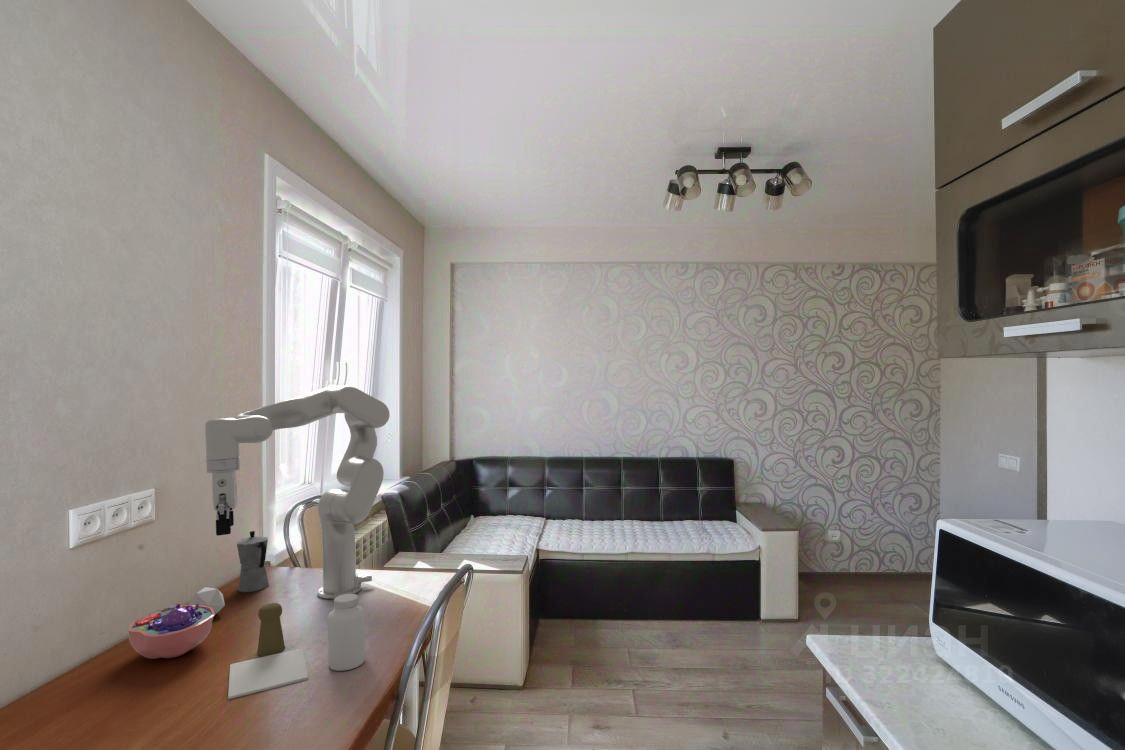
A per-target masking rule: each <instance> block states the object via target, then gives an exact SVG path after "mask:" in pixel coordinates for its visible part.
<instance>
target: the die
mask: <svg viewBox="0 0 1125 750" xmlns="http://www.w3.org/2000/svg"><path fill="white" fill-rule="evenodd" d="M196 604H199V605H202V606H207V607H210V608H212V609H213V611H214V613H215V615H216V614H218V613H219V612H220V611H221V610H222V609H223V608H224V607H225V606H226V604H225V599H224V593H222V592H221V591H220V590H219V589H218V588H214V587H207V586H204V588H202V589H201V590H199V591H198V592H196V593H195V594H194V595H193V596H192V597H191V598H190V600H189V601H188V605H196Z"/></svg>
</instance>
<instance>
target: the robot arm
mask: <svg viewBox="0 0 1125 750" xmlns="http://www.w3.org/2000/svg"><path fill="white" fill-rule="evenodd" d="M335 414H336V415H337V414H344V420H345V422H346V425H347V426H348V429H349V433H350V440H349V443H348V445H347V448H346V449H345V450H346V451H345V453H344V455H343V457H342V459H341V462H340V463H339V466H338V469H337V470H336V479H337V482H339V484H341V485H342V486H345V487H349V489H342V488H333V489H329V490H326V491H325V492H324V493H323V494H322V495H321V496H320V498H319V501H318V504H317V510H318V511H317V512H318V513H317V514H318V519H319V522H320V526H321V527H320V530H321V548H322V553H321V554H322V586H321V587H319V589H317V596H318V597H319V598H321V599H329V600H334V599H335V598H336V597H338V596H340V595H344V594H357V593H359V592H360V591H361V590H362V583H369V582H372V580H373V576H372V574H366V573H365V574H361V575H359V574H357V572H356V571H357V569H356V530H355V526H354V524H355V525H356V524H360V523H362V522H363V521H364V520H366V518H367V517H368V516H369V515H370V512H371V511H372V508H373V505H374V503H375V501H376V498H377V495H378V493H379V491H380V489H381V486H382V483H383V480H384V467H383V465H382V464H381V461H379V460H378V459H376V458H374V456H375V453H376V450H377V446H378V437H377V433H376V430H375V429H378V428H382V427H384V426H385V425H386V424H387V423H388V421H389V420H390V416H391V415H390V409H389V408H388V406H387V404H385V403H384V402H383V401H381V400H379V399H378V398H376V397H374V396H372V395H371V394H368V393H367V392H365V391H362V390H361V389H359V388H358V387H355V386H351V385H331V386H327V387H324V388H321V389H317V390H314V391H311V392H309V393H306V394H303V395H299V396H296V397H293V398H290V399H286V400H283V401H279V402H276V403H273V404H269V405H266V406H265V405H264V406H262V407H258V408H255V409H252V410H249V411H245V412H243V413H240V414H237V415H236V416H233V417H220V418H210V419H208V420H207V421H206V422H205V427H204V428H205V433H204V434H205V454H206V455H205V458H206V462H205V463H206V466H205V467H206V474H207V473H208V474H211V487H212V488H211V489H212V490H211V491H212V502H213V504H212V506H213V510H214V511H215V512H216V519H215V535H216V536H226V535H230V534H231V533H232V532H231V530H232V528H231V527H233V526H234V524H235V522H234V520H235V519H234V510H235V509H236V508H237V506H238V503H239V501H238V489H237V485H238V483H237V474H236V473H237V472H236V471H239V470H240V468H241V467H240V466H241V465H240V463H241V462H240V461H241V460H240V444H259V443H263V442H265V441H267V440H268V439H270V438H271V436H272V435H273V431H275V430H281V429H291V428H292V429H293V428H297V427H298V428H299V427H304V426H306V425H308V424H311V423H314V422H316V421H320V420H321V419H324V418H327V417H329V416H332V415H335Z"/></svg>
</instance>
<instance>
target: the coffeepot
mask: <svg viewBox="0 0 1125 750" xmlns="http://www.w3.org/2000/svg"><path fill="white" fill-rule="evenodd" d="M255 533H256V531H255V530H251V531H249V536H248V537H245V538H244V537H243V538H241V540H237V541H236V548H237V552H238V557H239V564H240V573H239V581H238V586H237V587H238V588H237V591H238V592H240V593H254V592H257V591H262V590H263V589H266V588H268V587H269V585H270V583H269V580H268V579H269V578H268V574H267V568H266V565H265V562H266V556H267V551H268V550H267V549H268V542H269V538H268V537H267V536H256V534H255Z"/></svg>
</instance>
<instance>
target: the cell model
mask: <svg viewBox="0 0 1125 750" xmlns="http://www.w3.org/2000/svg"><path fill="white" fill-rule="evenodd" d="M215 615H216V614H215V613H214V611H213V609H212V608H210V607H207V606H202V605H199V604H196V605H189V604H182V605H181V604H180V603H176V604H175V606H167V607H164V608H162V609H159V610H156V611H153V612H150V613H148V614H146V615H144V616H143V617H141V618H138V619H136V620H134V621H132V622H131V623H130V625H129V627H128V641H129V643H130V645H131V647H132V648H133V650H134V651H135V652H136V653H138V654H139V655H140V656H143V657H144V658H146V659H154V660H155V659H173V658H178V657H180V656H182V655H184V654H186V653H187V652H190V651H191V650H193V649H194V648H196V647H197V646H199V644H201V643H202V642H204V640H205V639H206V637H208V635H209V634H210V632H211V630H212V628H213V620H214V617H215Z"/></svg>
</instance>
